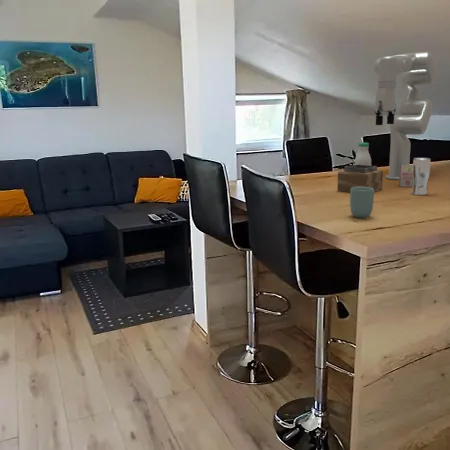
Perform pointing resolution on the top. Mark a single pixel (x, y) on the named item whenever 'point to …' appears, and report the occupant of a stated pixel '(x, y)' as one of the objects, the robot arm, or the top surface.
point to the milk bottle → (363, 155)
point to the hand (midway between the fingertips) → (384, 124)
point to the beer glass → (420, 175)
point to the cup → (361, 201)
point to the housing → (360, 177)
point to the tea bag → (406, 176)
